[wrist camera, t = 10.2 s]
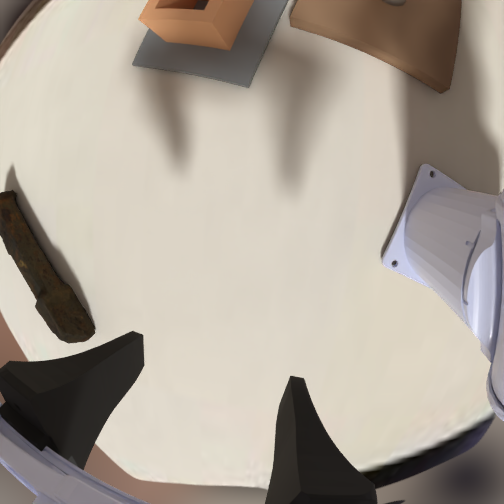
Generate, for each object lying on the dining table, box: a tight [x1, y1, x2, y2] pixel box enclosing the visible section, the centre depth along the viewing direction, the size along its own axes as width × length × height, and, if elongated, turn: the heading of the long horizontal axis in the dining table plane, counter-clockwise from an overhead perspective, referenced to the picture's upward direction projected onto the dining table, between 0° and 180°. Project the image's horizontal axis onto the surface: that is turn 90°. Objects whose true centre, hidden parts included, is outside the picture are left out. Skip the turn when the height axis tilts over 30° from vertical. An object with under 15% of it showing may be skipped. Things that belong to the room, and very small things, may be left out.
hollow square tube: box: [138, 0, 254, 51], centre depth 13 cm, size 5×5×4 cm
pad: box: [132, 0, 289, 88], centre depth 15 cm, size 10×10×1 cm
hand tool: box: [0, 190, 95, 343], centre depth 22 cm, size 19×4×5 cm, turn 38°
